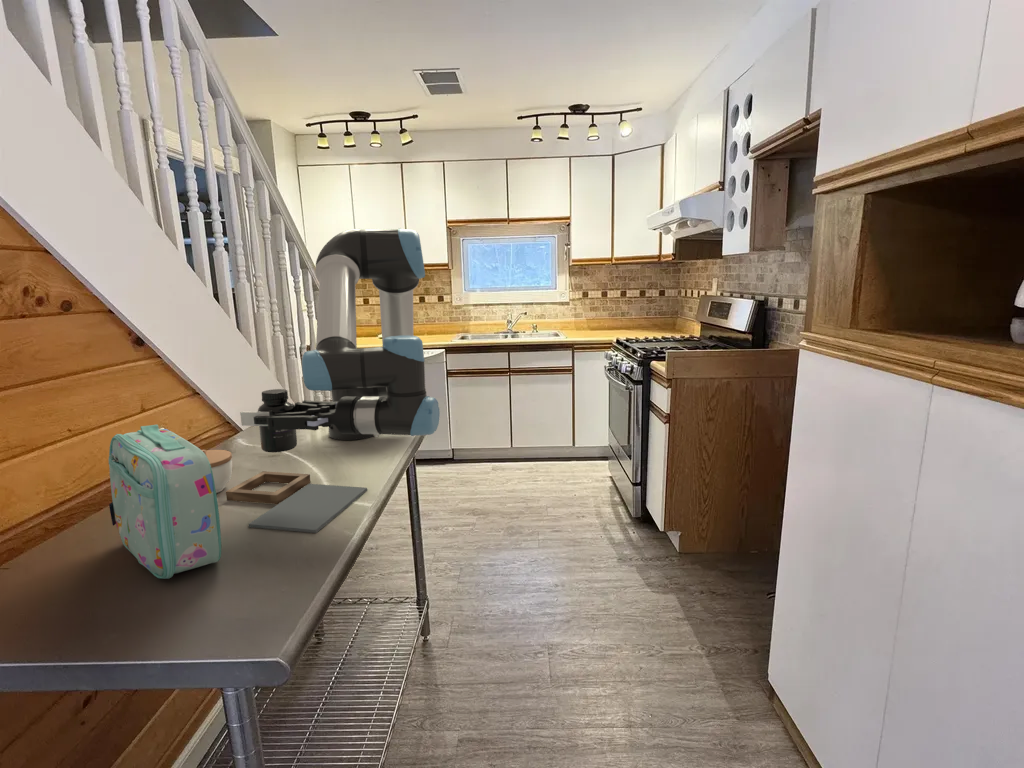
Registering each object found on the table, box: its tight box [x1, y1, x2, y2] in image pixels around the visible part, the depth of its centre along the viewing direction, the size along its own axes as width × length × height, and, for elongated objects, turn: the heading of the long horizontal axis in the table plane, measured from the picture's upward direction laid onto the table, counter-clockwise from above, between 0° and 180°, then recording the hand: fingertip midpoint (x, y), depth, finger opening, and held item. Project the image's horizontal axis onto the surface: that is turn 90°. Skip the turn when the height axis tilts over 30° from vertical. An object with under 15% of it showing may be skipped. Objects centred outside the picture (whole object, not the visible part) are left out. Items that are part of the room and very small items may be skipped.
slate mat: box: [248, 483, 368, 534], centre depth 108 cm, size 20×14×1 cm
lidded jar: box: [201, 449, 233, 494], centre depth 117 cm, size 11×11×9 cm
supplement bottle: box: [257, 388, 298, 454], centre depth 108 cm, size 7×7×12 cm
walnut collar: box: [225, 470, 312, 505], centre depth 117 cm, size 12×12×2 cm
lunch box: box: [108, 424, 222, 580], centre depth 89 cm, size 27×10×21 cm, turn 50°
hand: (253, 413), depth 109 cm, fingers closed on supplement bottle, 7 cm apart
